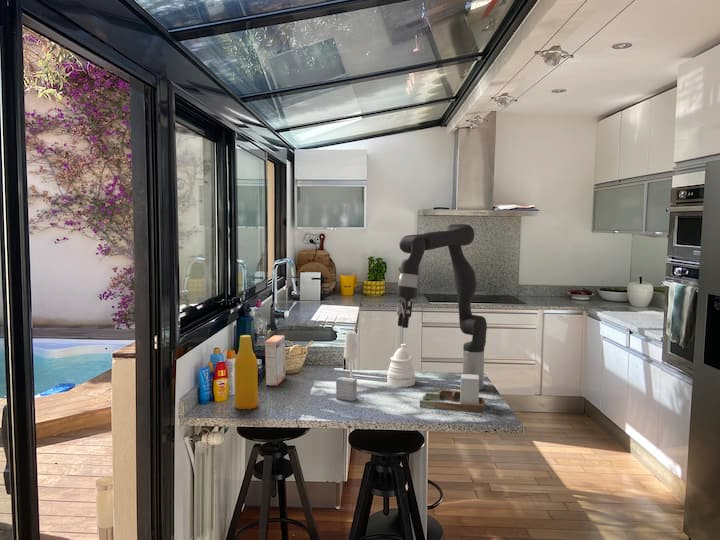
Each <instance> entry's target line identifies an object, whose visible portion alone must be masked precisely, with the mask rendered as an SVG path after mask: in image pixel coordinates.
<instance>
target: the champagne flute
mask: <svg viewBox="0 0 720 540" xmlns="http://www.w3.org/2000/svg"><path fill="white" fill-rule="evenodd" d="M344 339H345V340H344V351H343V358H344V360H345V361H346V362H347V363H348V364H349V378H353V363H355V362H356V361H357V359H358V358H359V351H358V350H359V349H358V341H357V340H358V339H357V332H356V331H347V332H345V338H344ZM358 385H359V382H357V386H358Z"/></svg>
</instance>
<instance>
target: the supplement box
mask: <svg viewBox="0 0 720 540" xmlns="http://www.w3.org/2000/svg"><path fill="white" fill-rule="evenodd" d="M459 388H460V390H459V392H460V401H459V404H468V405H478V406H480V404H479V397H480V390H479V375H471V374H463V373H461V374H460V387H459Z"/></svg>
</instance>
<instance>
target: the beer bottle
mask: <svg viewBox="0 0 720 540" xmlns="http://www.w3.org/2000/svg"><path fill="white" fill-rule="evenodd" d="M252 342H253V341H252V336H251V335H249V334H244V335H240V336H239V346H238V347H239V348H238V352H237V355H236V357H235V359H234V365H233V366H234V406H235V408H236V409H238V410H241V409H248V410H253V409H255V408H256V407H258V405H259V391H258V389H259V388H258V387H259V386H258V384H259V382H258V381H259V378H258V374H259V373H258V372H259V371H258V360H257V357H256V354H255V353H254V350H253V344H252ZM252 408H253V409H252Z"/></svg>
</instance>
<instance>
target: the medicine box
mask: <svg viewBox="0 0 720 540" xmlns="http://www.w3.org/2000/svg"><path fill="white" fill-rule="evenodd" d="M357 383H358V380H357V378H353V377H352V378H350V377H344V376H342V377H341V376H339V377H338V378H337V379H335V387H336V389H335V391H336V393H335V395H336V396H335V397H336V398H335V399H336V400H341V401H347V402H348V401H349V402H354V401H355V400H357V398H358V385H357Z"/></svg>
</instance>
